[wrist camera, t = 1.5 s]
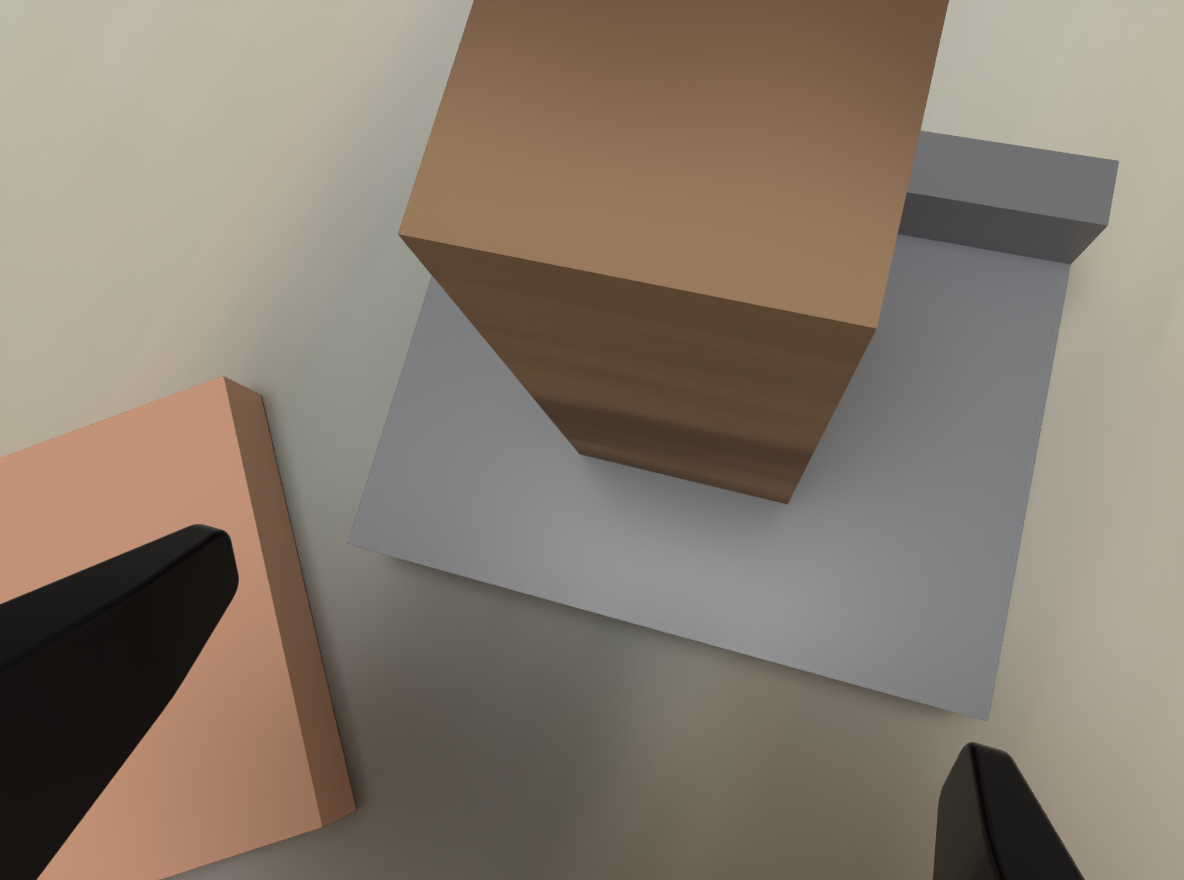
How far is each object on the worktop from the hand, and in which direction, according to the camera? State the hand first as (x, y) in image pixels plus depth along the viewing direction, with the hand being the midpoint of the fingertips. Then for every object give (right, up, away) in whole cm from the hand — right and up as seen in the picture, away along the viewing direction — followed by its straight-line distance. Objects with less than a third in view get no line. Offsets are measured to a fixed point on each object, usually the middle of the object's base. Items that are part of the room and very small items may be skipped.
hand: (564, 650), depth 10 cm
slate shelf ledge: (+4, +3, +13) cm, 14 cm away
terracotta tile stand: (-13, -4, +15) cm, 20 cm away
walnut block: (+3, +4, +11) cm, 12 cm away
